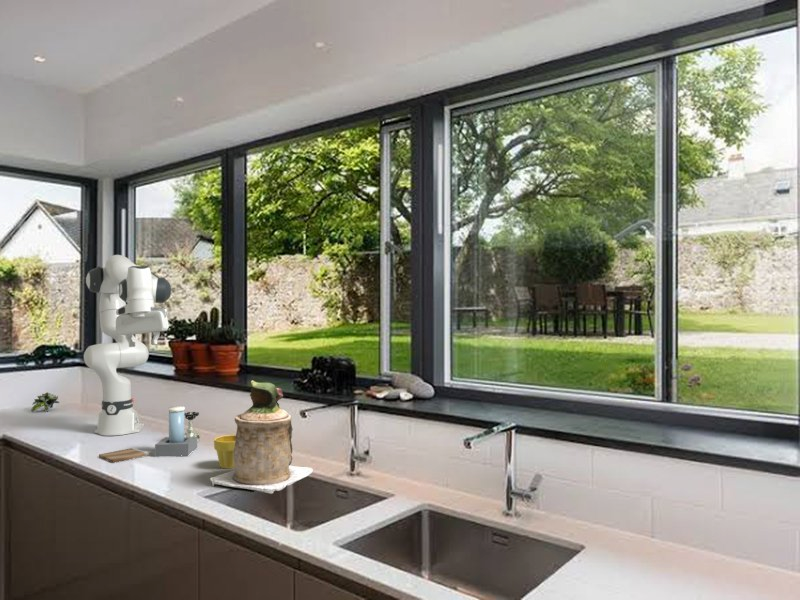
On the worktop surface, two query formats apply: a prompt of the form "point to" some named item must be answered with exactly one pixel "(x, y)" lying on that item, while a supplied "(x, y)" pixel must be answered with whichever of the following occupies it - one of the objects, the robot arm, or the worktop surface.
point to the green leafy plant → (45, 401)
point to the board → (122, 455)
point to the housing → (175, 447)
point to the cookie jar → (263, 445)
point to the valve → (190, 429)
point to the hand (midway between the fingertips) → (143, 345)
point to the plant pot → (225, 450)
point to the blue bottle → (176, 424)
